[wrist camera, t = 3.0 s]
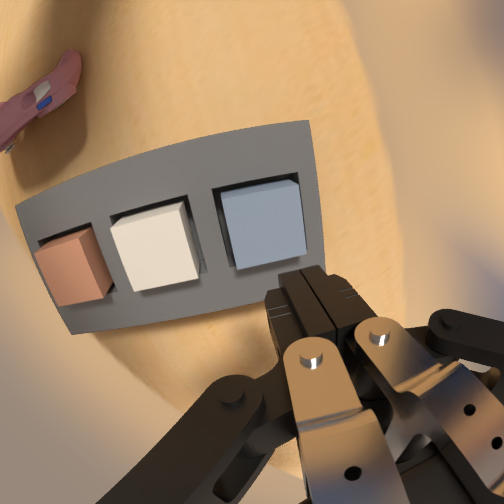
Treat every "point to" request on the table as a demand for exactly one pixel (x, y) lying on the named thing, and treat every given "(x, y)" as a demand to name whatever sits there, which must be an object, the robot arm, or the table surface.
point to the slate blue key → (264, 222)
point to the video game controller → (39, 98)
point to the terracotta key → (74, 267)
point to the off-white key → (157, 246)
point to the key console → (199, 215)
